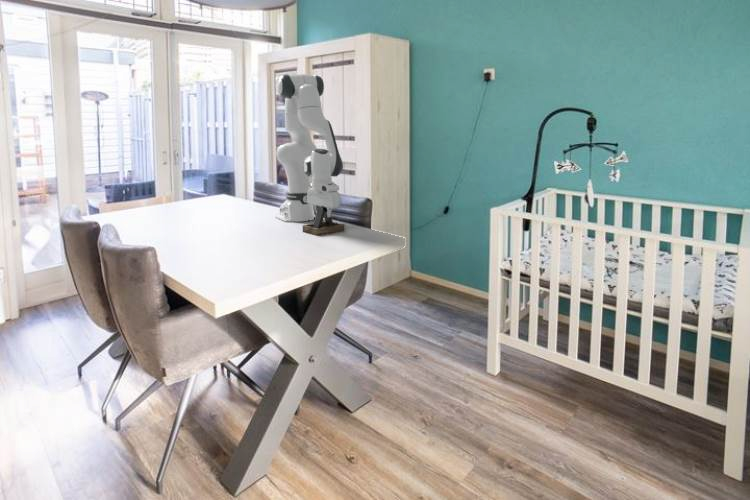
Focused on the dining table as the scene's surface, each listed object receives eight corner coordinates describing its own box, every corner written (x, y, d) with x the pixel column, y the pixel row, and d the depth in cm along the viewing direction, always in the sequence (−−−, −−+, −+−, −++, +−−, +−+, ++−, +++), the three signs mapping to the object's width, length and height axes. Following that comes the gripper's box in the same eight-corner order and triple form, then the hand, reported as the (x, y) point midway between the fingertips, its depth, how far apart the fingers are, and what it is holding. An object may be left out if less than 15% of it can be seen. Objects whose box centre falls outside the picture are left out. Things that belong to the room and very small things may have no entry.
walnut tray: (302, 231, 241) (302, 225, 240) (328, 227, 251) (328, 221, 250) (318, 236, 232) (318, 229, 232) (344, 230, 242) (344, 224, 241)
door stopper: (317, 231, 237) (316, 205, 234) (312, 229, 242) (311, 203, 239) (335, 229, 241) (334, 203, 238) (330, 227, 246) (329, 201, 243)
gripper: (303, 184, 242) (304, 214, 245) (330, 188, 227) (331, 219, 230) (314, 183, 246) (315, 212, 249) (341, 187, 231) (342, 217, 234)
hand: (323, 216), depth 240 cm, fingers closed on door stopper, 6 cm apart
